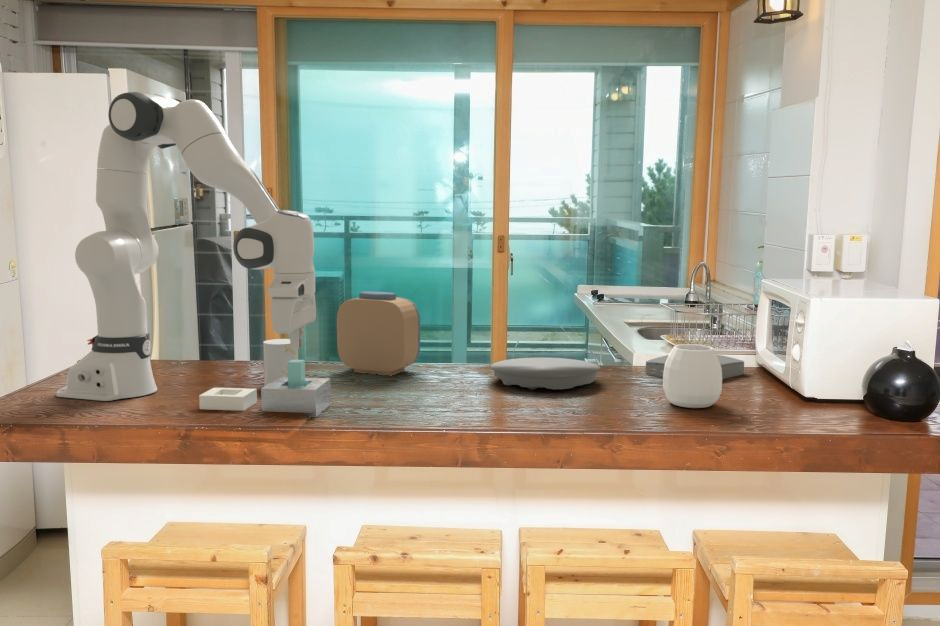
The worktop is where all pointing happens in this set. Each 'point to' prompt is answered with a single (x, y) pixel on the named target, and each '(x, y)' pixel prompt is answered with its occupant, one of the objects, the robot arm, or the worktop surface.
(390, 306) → the alarm clock
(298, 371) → the plug
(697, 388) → the cup
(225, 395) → the white square-hole block
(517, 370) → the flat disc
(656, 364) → the electronic device
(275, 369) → the cup
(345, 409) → the worktop surface
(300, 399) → the port
